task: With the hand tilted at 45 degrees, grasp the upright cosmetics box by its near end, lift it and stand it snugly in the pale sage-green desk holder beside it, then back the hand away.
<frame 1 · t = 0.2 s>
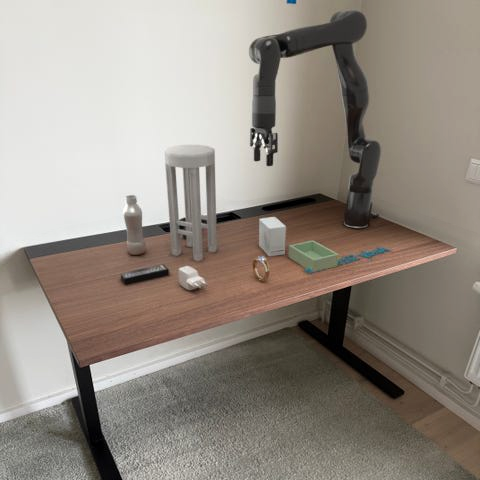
hand: (263, 163, 159), 29 cm above the table, tool pointing down, fingers open, 8 cm apart
plastic bottle: (137, 253, 167), on the table
holder: (312, 261, 161), on the table
power adapter: (193, 290, 143), on the table
stool: (194, 253, 168), on the table
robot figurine: (193, 230, 187), on the table
ring: (260, 280, 149), on the table
nameplate: (348, 261, 162), on the table, touching holder
cosmetics box: (271, 250, 170), on the table
multiport hub: (145, 278, 150), on the table
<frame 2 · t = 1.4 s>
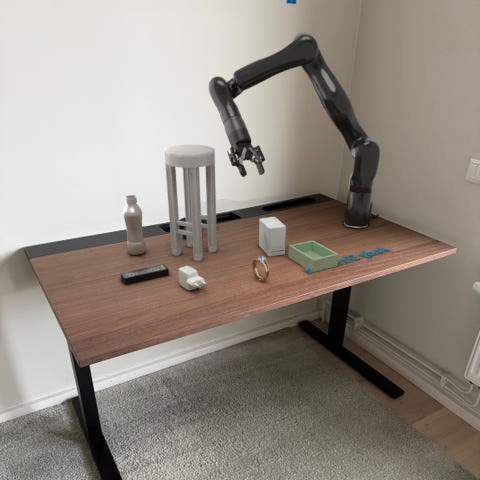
hand: (253, 174, 168), 23 cm above the table, tool tilted 40°, fingers open, 8 cm apart
nothing on the table moved.
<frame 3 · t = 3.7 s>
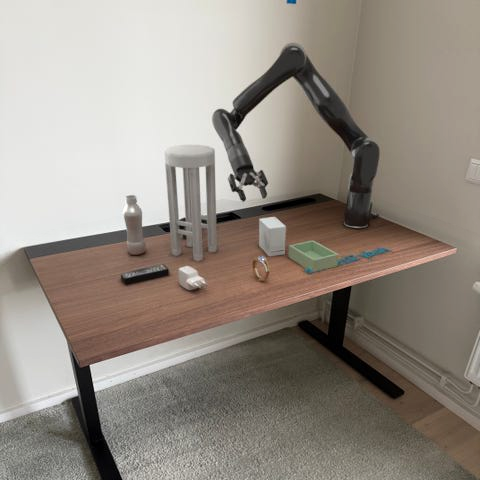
hand: (254, 198, 171), 15 cm above the table, tool tilted 45°, fingers open, 8 cm apart
nothing on the table moved.
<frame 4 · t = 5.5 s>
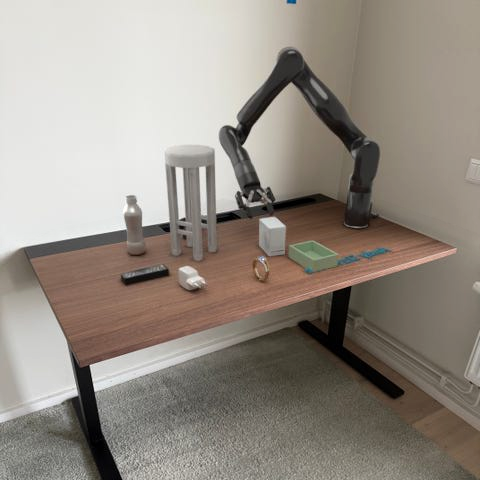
hand: (262, 216, 170), 10 cm above the table, tool tilted 45°, fingers open, 8 cm apart
nothing on the table moved.
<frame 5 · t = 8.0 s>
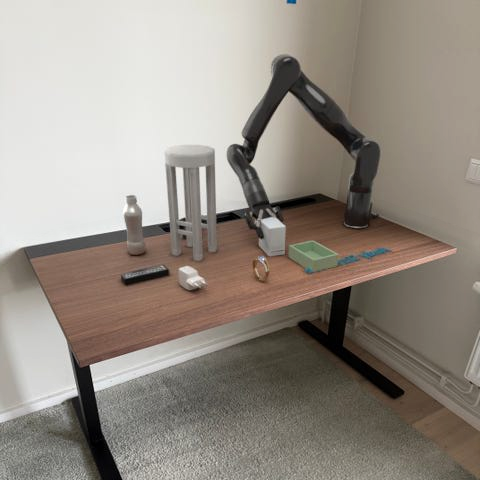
hand: (271, 236, 168), 5 cm above the table, tool tilted 45°, fingers closed on cosmetics box, 7 cm apart
cosmetics box: (271, 250, 170), on the table, touching gripper
everything else where it was.
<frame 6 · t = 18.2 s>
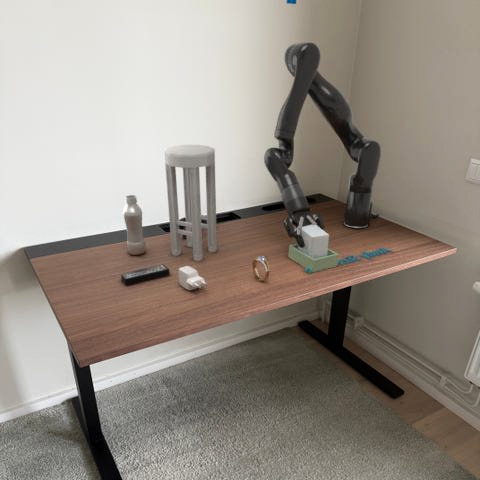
hand: (312, 244, 159), 6 cm above the table, tool tilted 45°, fingers closed on cosmetics box, 7 cm apart
nameplate: (349, 261, 162), on the table
cosmetics box: (311, 259, 161), point 1 cm above the table, touching gripper, holder
everything else where it was.
when the fingers open (6 cm above the table, at t = 18.2 s): cosmetics box stays where it is, resting on holder.
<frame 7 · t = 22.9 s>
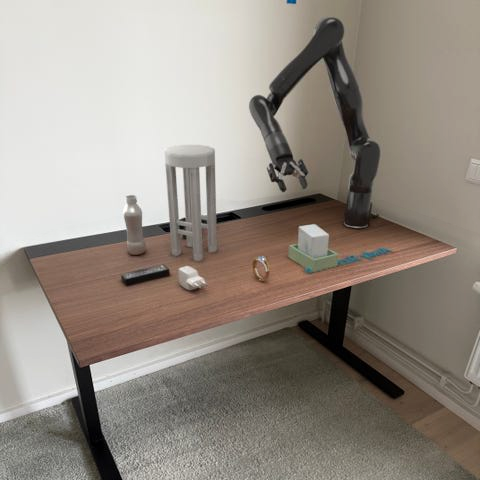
hand: (295, 189, 163), 20 cm above the table, tool tilted 45°, fingers open, 8 cm apart
nameplate: (349, 261, 162), on the table, touching holder
cosmetics box: (311, 259, 161), point 1 cm above the table, touching holder
everything else where it was.
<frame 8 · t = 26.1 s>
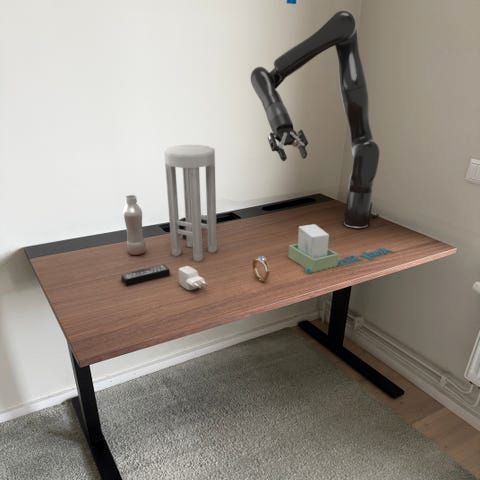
hand: (295, 158, 167), 29 cm above the table, tool tilted 45°, fingers open, 8 cm apart
nameplate: (349, 261, 162), on the table
everything else where it was.
at the end: cosmetics box 0.4 cm off-centre in the holder, point 0.6 cm above the holder's base; cosmetics box tilted 0°; the gripper is holding nothing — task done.
